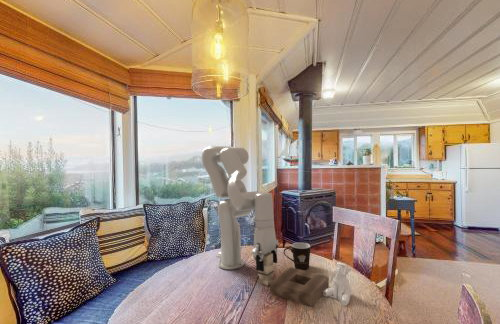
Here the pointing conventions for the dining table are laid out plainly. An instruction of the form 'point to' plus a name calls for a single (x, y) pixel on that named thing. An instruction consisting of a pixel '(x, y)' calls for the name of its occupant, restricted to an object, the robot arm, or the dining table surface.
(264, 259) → the birch peg
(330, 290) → the sitting furry creature
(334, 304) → the dining table surface
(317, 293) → the walnut board
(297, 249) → the coffee mug
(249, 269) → the dining table surface
